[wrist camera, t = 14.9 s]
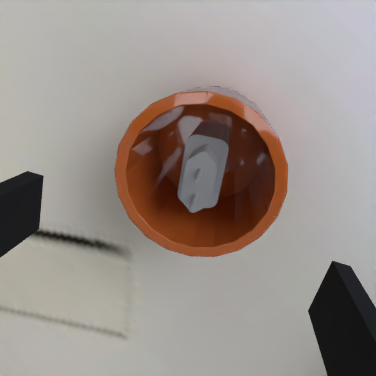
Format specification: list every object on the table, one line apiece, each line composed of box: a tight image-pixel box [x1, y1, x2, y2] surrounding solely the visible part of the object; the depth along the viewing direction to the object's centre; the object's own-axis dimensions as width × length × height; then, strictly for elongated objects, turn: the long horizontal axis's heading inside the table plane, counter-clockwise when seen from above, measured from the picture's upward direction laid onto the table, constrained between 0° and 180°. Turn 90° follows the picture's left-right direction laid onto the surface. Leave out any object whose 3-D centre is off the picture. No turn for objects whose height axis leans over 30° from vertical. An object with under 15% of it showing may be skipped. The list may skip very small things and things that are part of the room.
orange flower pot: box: [115, 86, 288, 257], centre depth 26 cm, size 12×12×10 cm
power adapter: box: [178, 121, 231, 213], centre depth 24 cm, size 3×5×12 cm, turn 171°
